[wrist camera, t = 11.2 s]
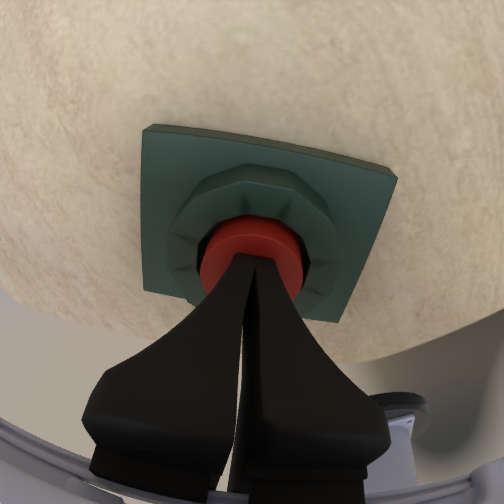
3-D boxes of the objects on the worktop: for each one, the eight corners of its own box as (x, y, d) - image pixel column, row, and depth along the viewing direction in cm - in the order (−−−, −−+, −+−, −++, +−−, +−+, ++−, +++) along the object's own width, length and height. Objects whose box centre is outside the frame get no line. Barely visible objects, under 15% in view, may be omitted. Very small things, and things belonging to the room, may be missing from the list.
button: (310, 219, 12) (315, 245, 10) (288, 293, 14) (289, 322, 12) (213, 202, 12) (204, 225, 10) (205, 279, 14) (197, 307, 12)
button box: (389, 167, 12) (416, 196, 10) (335, 307, 17) (343, 350, 14) (152, 123, 12) (121, 141, 9) (150, 276, 16) (131, 315, 14)
